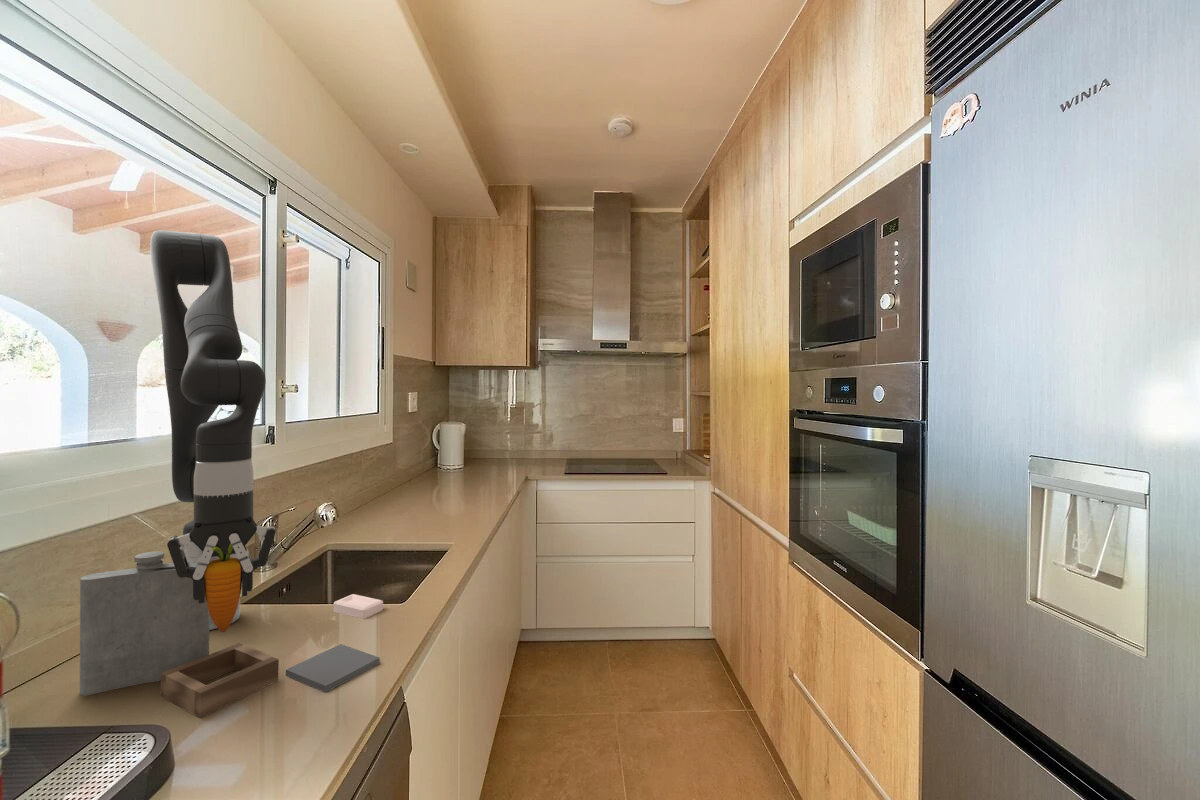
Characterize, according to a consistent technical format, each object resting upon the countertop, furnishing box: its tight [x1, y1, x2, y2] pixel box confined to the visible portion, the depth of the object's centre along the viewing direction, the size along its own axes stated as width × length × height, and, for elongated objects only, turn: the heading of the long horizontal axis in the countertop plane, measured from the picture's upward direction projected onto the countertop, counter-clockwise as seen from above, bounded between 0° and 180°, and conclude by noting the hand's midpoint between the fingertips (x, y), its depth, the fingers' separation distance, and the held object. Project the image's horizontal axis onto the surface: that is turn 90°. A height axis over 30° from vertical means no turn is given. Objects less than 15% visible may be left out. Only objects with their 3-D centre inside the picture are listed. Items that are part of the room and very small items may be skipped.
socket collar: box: [160, 642, 279, 719], centre depth 81 cm, size 11×11×4 cm
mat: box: [285, 643, 381, 693], centre depth 88 cm, size 10×10×1 cm
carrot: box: [204, 543, 243, 633], centre depth 82 cm, size 5×5×15 cm
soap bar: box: [333, 593, 384, 619], centre depth 111 cm, size 5×9×2 cm, turn 67°
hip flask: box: [79, 550, 210, 696], centre depth 84 cm, size 16×4×20 cm, turn 117°
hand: (224, 597), depth 82 cm, fingers closed on carrot, 4 cm apart
